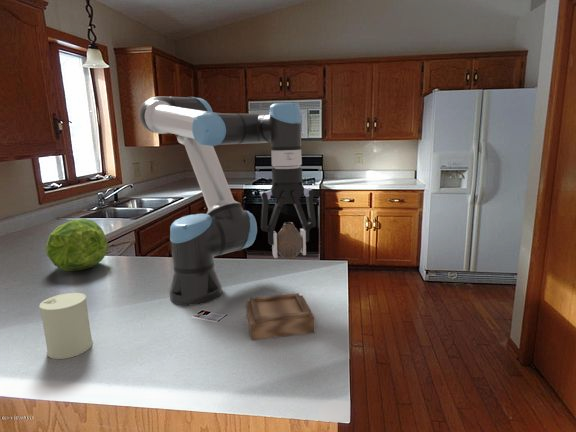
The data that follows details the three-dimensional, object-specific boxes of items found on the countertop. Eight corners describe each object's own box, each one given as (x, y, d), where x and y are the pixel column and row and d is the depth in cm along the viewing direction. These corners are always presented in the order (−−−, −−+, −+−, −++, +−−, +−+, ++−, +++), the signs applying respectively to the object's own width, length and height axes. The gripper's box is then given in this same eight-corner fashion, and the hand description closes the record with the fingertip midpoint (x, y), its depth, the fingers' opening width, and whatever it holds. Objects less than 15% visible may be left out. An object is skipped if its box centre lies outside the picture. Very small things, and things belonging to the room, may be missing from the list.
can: (59, 339, 95) (51, 291, 93) (99, 336, 96) (92, 289, 93) (38, 360, 86) (29, 308, 84) (83, 357, 87) (75, 306, 84)
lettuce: (91, 257, 161) (76, 214, 156) (122, 259, 146) (106, 212, 142) (41, 278, 146) (23, 232, 142) (71, 282, 132) (51, 231, 127)
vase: (305, 252, 107) (304, 220, 106) (298, 260, 101) (298, 226, 99) (280, 251, 109) (279, 219, 108) (272, 258, 103) (271, 225, 101)
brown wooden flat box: (251, 339, 92) (250, 320, 91) (246, 315, 105) (245, 297, 104) (314, 332, 95) (314, 313, 94) (302, 309, 107) (302, 292, 106)
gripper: (249, 170, 94) (253, 263, 99) (329, 166, 99) (329, 255, 104) (245, 167, 102) (249, 254, 106) (320, 164, 106) (320, 247, 111)
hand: (289, 254), depth 105 cm, fingers closed on vase, 7 cm apart
